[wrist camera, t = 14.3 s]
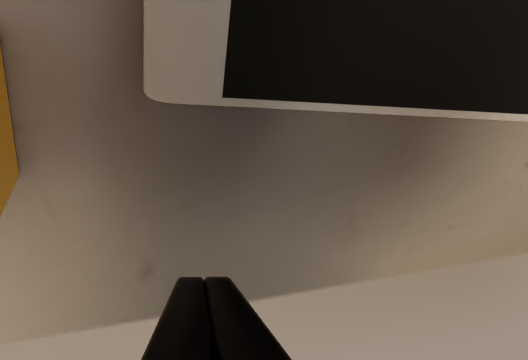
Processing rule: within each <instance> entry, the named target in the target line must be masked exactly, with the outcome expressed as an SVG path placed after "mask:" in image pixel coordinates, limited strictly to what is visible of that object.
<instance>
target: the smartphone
mask: <svg viewBox="0 0 528 360" xmlns="http://www.w3.org/2000/svg"><path fill="white" fill-rule="evenodd" d="M144 92H145V95H146V96H148V97H149V98H151V99H153V100H156V101H159V102H164V103H173V104H193V105H212V106H232V107H251V108H271V109H290V110H310V111H329V112H349V113H368V114H388V115H407V116H427V117H446V118H466V119H485V120H505V121H524V122H528V0H144Z"/></svg>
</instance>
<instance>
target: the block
mask: <svg viewBox="0 0 528 360" xmlns="http://www.w3.org/2000/svg"><path fill="white" fill-rule="evenodd" d="M18 177H19V171H18V164H17V157H16V150H15V143H14V136H13V129H12V122H11V115H10V108H9V101H8V94H7V87H6V80H5V73H4V66H3V59H2V52H1V45H0V216H1V214H2V212H3V210H4V207H5V205H6V203H7V201H8V199H9V196H10V194H11V192H12V190H13V188H14V185H15V183H16V181H17V179H18Z"/></svg>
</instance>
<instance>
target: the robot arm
mask: <svg viewBox="0 0 528 360" xmlns="http://www.w3.org/2000/svg"><path fill="white" fill-rule="evenodd" d="M141 360H292V359H291V358H290V357H289V356H288V354H287V353H286V352H285V350H284V349H283V348H282V346H281V345H280V344H279V342H278V341H277V340H276V338H275V337H274V336H273V334H272V333H271V332H270V330H269V329H268V328H267V327H266V325H265V324H264V323H263V322H262V320H261V319H260V317H259V316H258V315H257V313H256V312H255V311H254V309H253V308H252V307H251V305H250V304H249V303H248V301H247V300H246V299H245V297H244V296H243V295H242V293H241V292H240V291H239V289H238V288H237V287H236V286H235V284H234V283H233V282H232V280H231V279H230V278H228V277H207V278H205V279H204V280H203V279H202V278H201V277H181V278H179V279H178V280H177V282H176V284H175V286H174V288H173V291H172V293H171V295H170V297H169V299H168V302H167V304H166V306H165V308H164V310H163V313H162V315H161V317H160V319H159V322H158V324H157V326H156V328H155V331H154V333H153V335H152V337H151V339H150V341H149V344H148V346H147V348H146V350H145V352H144V355H143V357H142V359H141Z"/></svg>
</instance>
